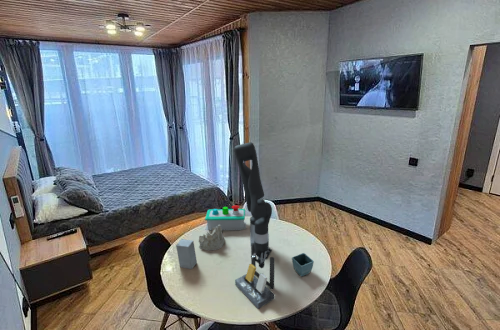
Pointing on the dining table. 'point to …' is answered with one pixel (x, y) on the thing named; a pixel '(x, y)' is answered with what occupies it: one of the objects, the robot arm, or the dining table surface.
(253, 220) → the robot arm
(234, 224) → the control panel
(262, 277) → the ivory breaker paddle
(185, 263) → the skincare box
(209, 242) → the jagged rock sculpture
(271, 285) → the cable posts
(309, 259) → the flower pot
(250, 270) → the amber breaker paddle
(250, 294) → the strip
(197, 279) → the dining table surface
